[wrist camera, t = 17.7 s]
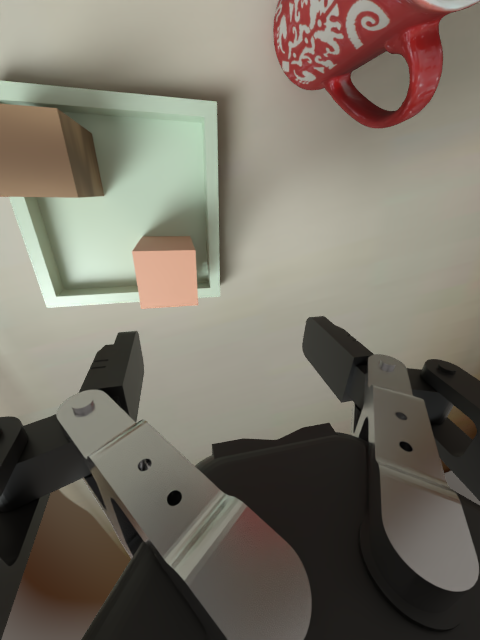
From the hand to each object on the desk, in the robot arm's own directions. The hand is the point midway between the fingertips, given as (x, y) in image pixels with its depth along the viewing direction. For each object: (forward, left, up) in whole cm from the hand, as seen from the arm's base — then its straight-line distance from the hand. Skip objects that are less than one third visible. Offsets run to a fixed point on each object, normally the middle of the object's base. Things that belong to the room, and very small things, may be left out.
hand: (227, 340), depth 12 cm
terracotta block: (0, -3, -17) cm, 17 cm away
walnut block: (-8, -10, -17) cm, 21 cm away
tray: (-5, -6, -17) cm, 19 cm away
